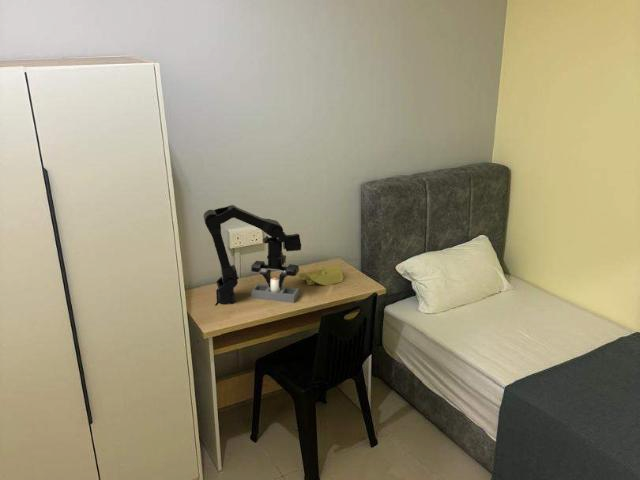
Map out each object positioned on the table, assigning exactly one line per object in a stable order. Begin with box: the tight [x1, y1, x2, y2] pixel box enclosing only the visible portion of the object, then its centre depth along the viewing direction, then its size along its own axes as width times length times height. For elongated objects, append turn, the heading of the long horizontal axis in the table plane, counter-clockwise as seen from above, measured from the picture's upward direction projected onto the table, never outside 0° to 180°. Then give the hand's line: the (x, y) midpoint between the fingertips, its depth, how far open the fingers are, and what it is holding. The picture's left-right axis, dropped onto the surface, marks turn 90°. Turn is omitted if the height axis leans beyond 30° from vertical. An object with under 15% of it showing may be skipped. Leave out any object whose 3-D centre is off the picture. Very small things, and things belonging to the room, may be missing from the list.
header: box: [250, 283, 300, 304], centre depth 242 cm, size 18×8×4 cm, turn 77°
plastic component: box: [298, 265, 344, 286], centre depth 259 cm, size 20×7×10 cm
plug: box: [270, 275, 280, 293], centre depth 241 cm, size 4×4×8 cm
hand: (275, 287), depth 241 cm, fingers closed on plug, 4 cm apart
